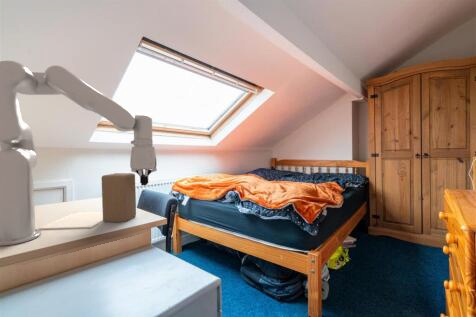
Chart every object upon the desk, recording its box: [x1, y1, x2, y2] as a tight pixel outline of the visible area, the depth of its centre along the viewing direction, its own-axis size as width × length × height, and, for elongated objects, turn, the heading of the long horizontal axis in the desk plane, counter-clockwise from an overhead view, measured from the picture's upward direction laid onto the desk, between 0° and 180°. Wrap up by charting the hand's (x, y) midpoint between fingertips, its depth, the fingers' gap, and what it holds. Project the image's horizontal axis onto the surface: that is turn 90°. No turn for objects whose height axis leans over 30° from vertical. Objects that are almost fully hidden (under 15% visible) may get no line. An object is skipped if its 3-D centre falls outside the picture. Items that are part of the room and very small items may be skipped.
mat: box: [37, 211, 104, 231], centre depth 100 cm, size 20×22×1 cm
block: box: [101, 172, 137, 223], centre depth 101 cm, size 10×10×20 cm
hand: (144, 184), depth 101 cm, fingers closed
